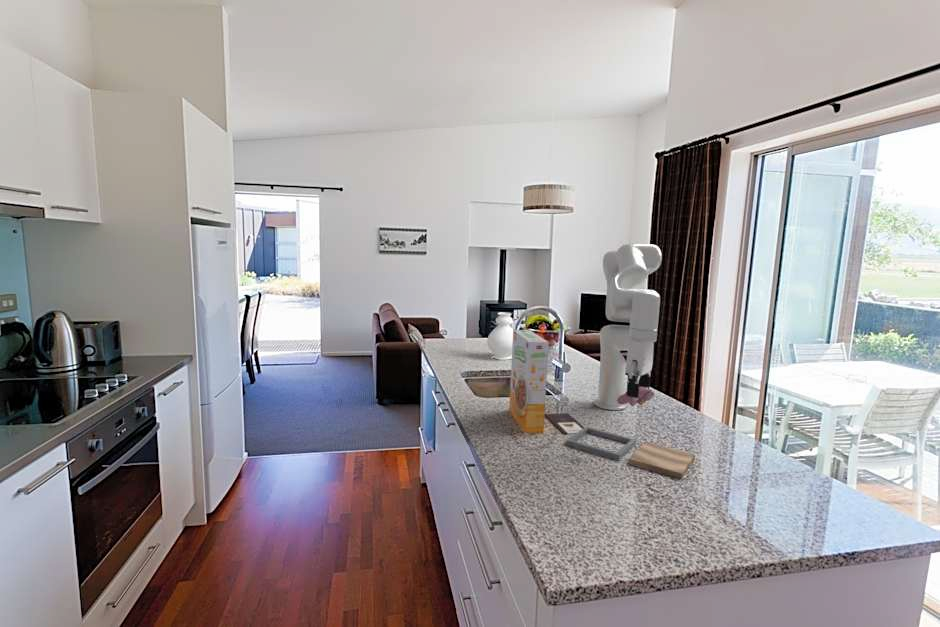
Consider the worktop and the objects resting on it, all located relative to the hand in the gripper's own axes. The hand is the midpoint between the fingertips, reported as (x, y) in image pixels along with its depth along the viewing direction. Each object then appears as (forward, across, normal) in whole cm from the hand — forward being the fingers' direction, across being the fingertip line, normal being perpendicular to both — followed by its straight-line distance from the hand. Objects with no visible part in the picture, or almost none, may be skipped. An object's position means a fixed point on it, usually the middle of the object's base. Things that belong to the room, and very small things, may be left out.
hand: (638, 393), depth 138 cm
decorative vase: (+19, -79, -100) cm, 128 cm away
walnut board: (+18, 0, +8) cm, 20 cm away
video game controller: (+4, -1, -1) cm, 4 cm away
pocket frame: (+18, 0, -10) cm, 21 cm away
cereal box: (+19, -1, -38) cm, 42 cm away
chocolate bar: (+19, -8, -26) cm, 33 cm away
